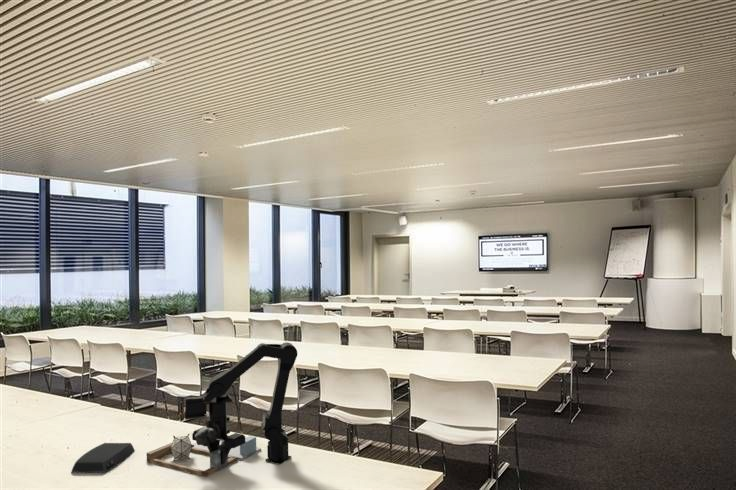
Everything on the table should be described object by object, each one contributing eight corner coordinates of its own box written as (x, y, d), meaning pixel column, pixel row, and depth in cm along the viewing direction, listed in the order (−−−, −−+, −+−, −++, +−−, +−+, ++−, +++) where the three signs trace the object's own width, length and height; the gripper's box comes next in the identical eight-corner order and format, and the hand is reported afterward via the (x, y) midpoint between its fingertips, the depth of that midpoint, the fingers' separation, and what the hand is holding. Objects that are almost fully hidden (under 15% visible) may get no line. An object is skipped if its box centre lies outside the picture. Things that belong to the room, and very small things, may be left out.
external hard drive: (68, 474, 174) (68, 462, 174) (102, 452, 194) (102, 440, 194) (106, 475, 173) (106, 462, 173) (137, 452, 193) (136, 440, 193)
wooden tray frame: (237, 460, 181) (237, 444, 181) (206, 477, 169) (205, 459, 169) (179, 447, 195) (179, 432, 195) (146, 461, 182) (146, 445, 182)
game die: (184, 471, 183) (183, 454, 177) (163, 461, 184) (161, 444, 179) (199, 450, 190) (199, 433, 184) (179, 440, 191) (178, 423, 186)
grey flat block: (261, 450, 190) (260, 435, 190) (241, 460, 181) (241, 444, 181) (208, 439, 203) (207, 424, 203) (187, 448, 194) (187, 433, 194)
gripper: (178, 419, 173) (179, 467, 173) (221, 427, 164) (222, 478, 164) (204, 409, 183) (205, 455, 183) (246, 416, 174) (247, 464, 174)
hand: (219, 463), depth 176 cm, fingers open, 3 cm apart
